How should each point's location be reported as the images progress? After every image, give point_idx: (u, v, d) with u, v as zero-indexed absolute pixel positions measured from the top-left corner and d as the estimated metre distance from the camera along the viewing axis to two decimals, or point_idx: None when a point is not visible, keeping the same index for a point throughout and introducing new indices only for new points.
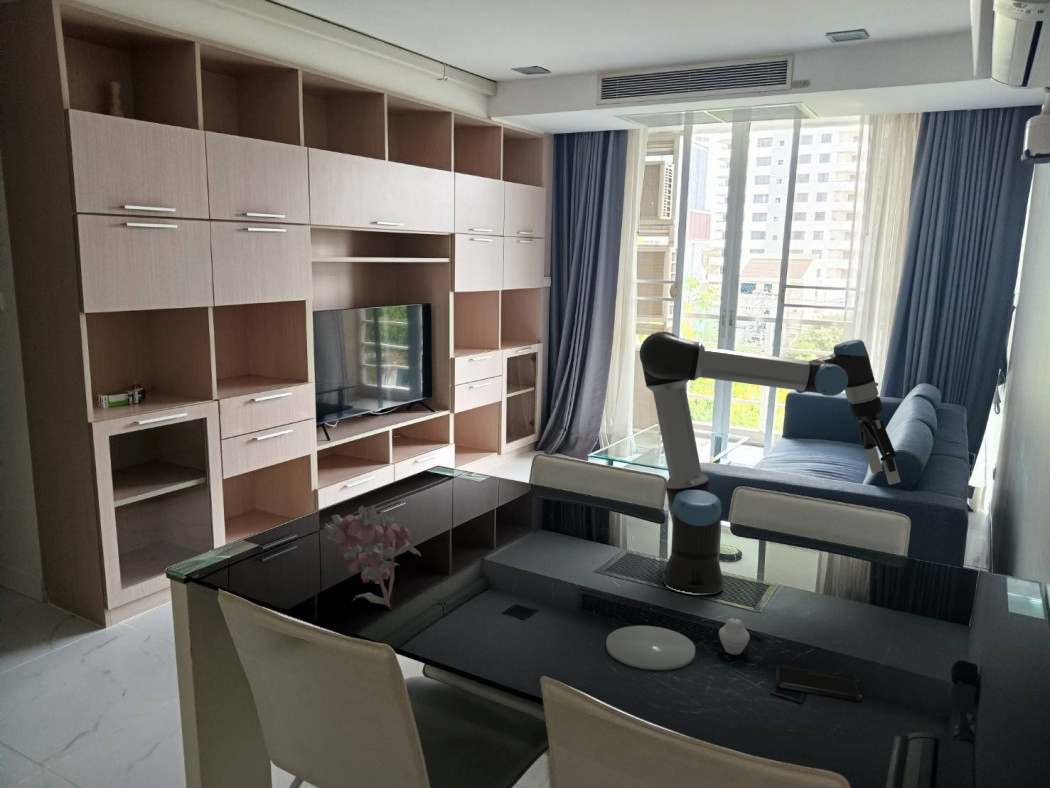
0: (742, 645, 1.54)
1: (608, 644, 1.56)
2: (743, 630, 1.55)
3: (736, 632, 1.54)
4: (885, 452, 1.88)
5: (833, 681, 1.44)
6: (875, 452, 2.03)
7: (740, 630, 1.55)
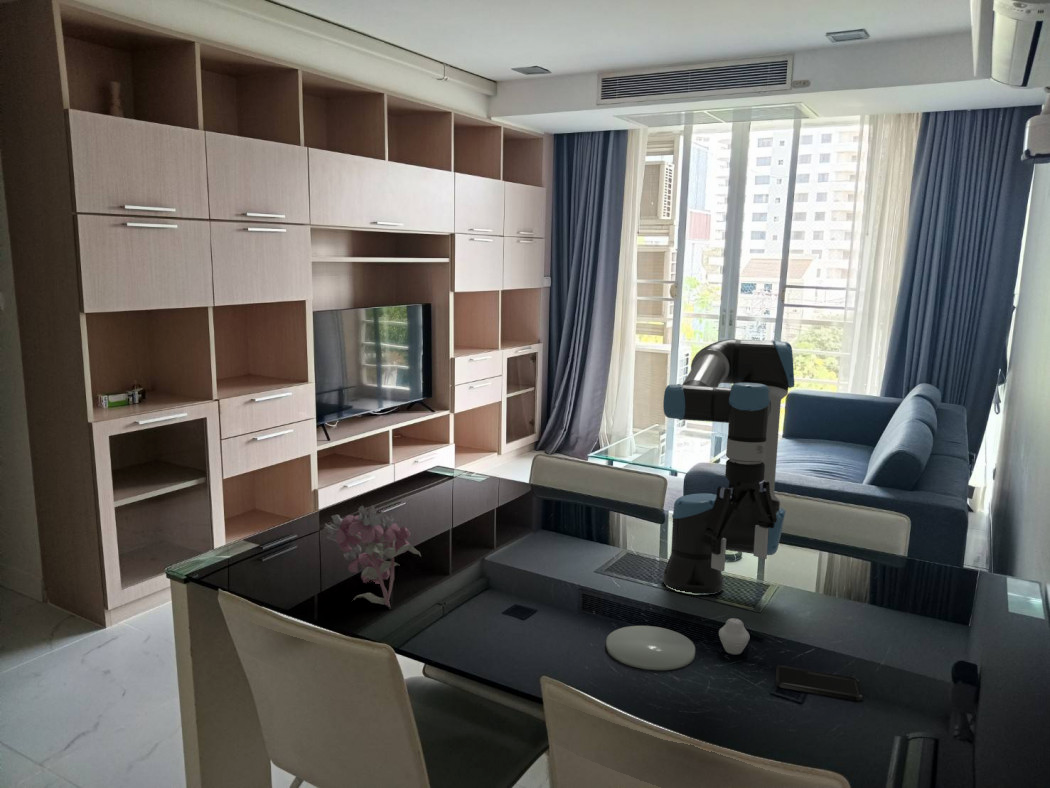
0: (742, 645, 1.54)
1: (608, 644, 1.56)
2: (743, 630, 1.55)
3: (736, 632, 1.54)
4: (707, 526, 1.49)
5: (833, 681, 1.44)
6: (763, 533, 1.57)
7: (740, 630, 1.55)
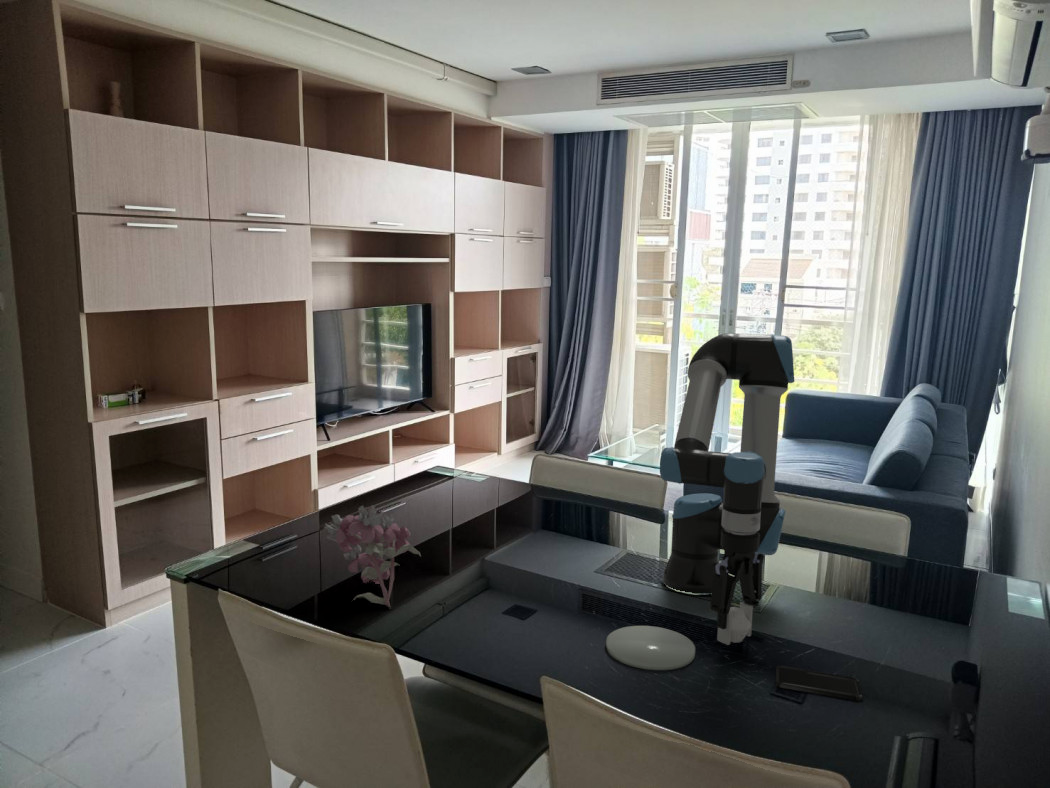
0: (743, 633, 1.54)
1: (608, 644, 1.56)
2: (744, 618, 1.55)
3: (737, 621, 1.54)
4: (711, 603, 1.53)
5: (833, 681, 1.44)
6: (748, 611, 1.58)
7: (741, 618, 1.55)
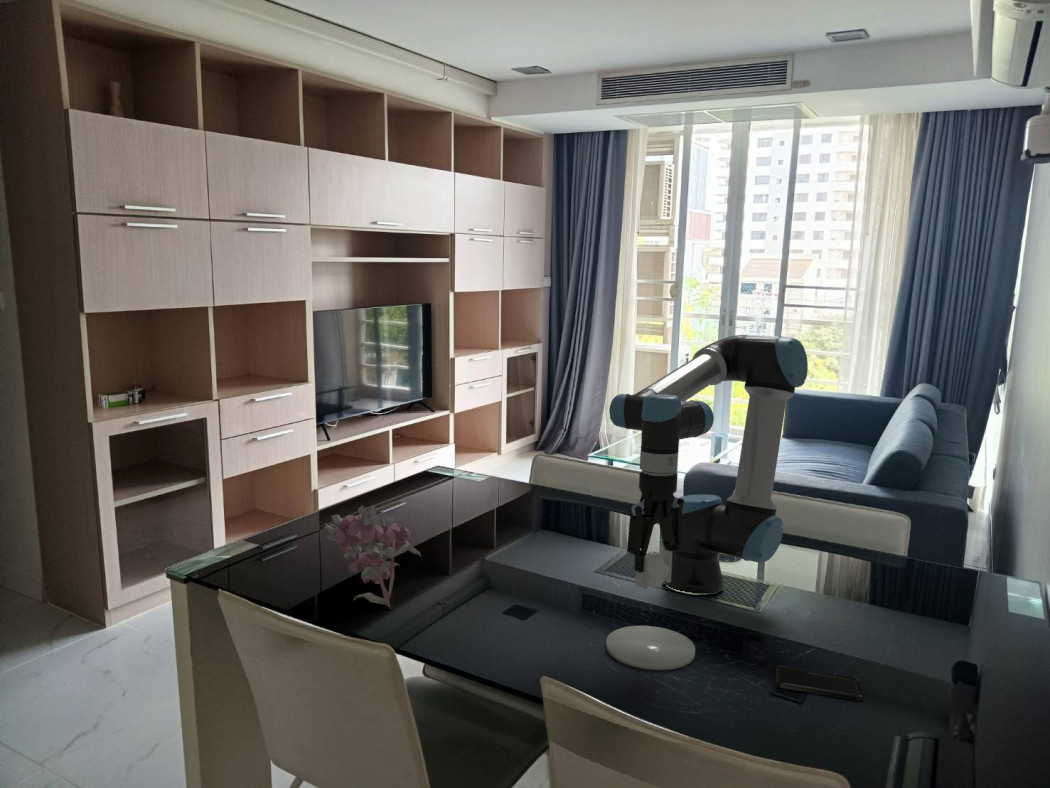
0: (661, 577, 1.52)
1: (608, 644, 1.56)
2: (662, 563, 1.53)
3: (655, 565, 1.52)
4: (628, 545, 1.51)
5: (833, 681, 1.44)
6: (667, 556, 1.55)
7: (659, 562, 1.53)
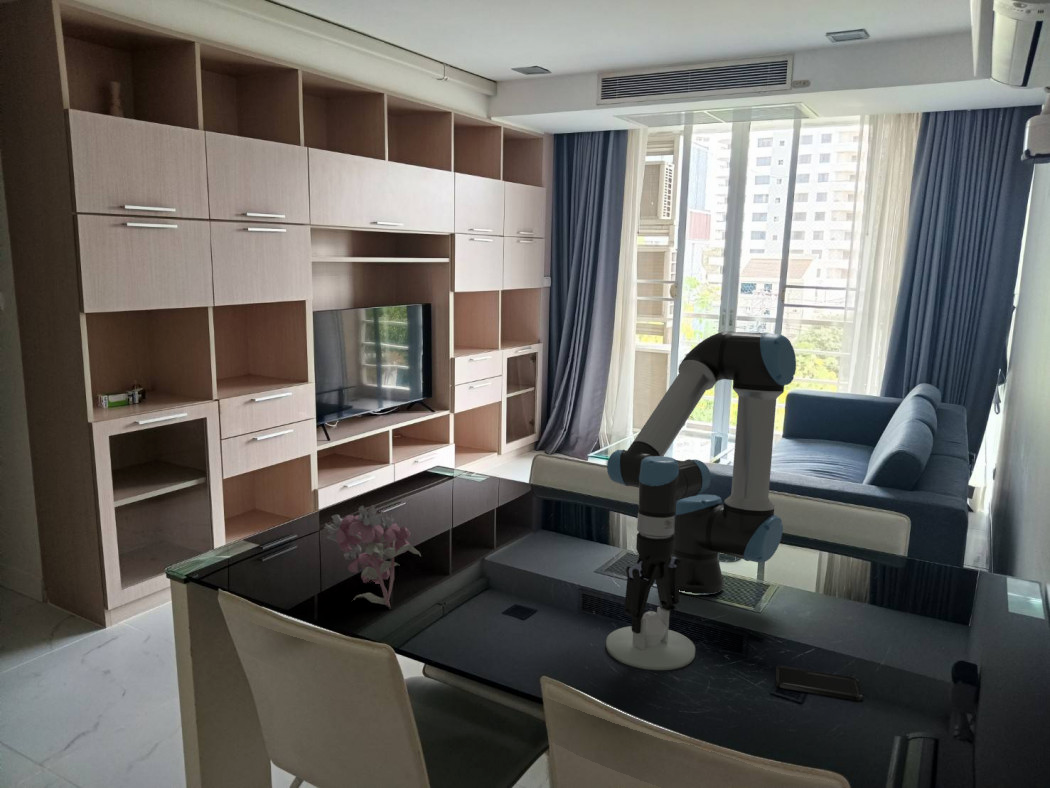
0: (658, 638, 1.54)
1: (608, 644, 1.56)
2: (659, 623, 1.54)
3: (652, 625, 1.54)
4: (625, 607, 1.52)
5: (833, 681, 1.44)
6: (664, 616, 1.57)
7: (656, 623, 1.54)
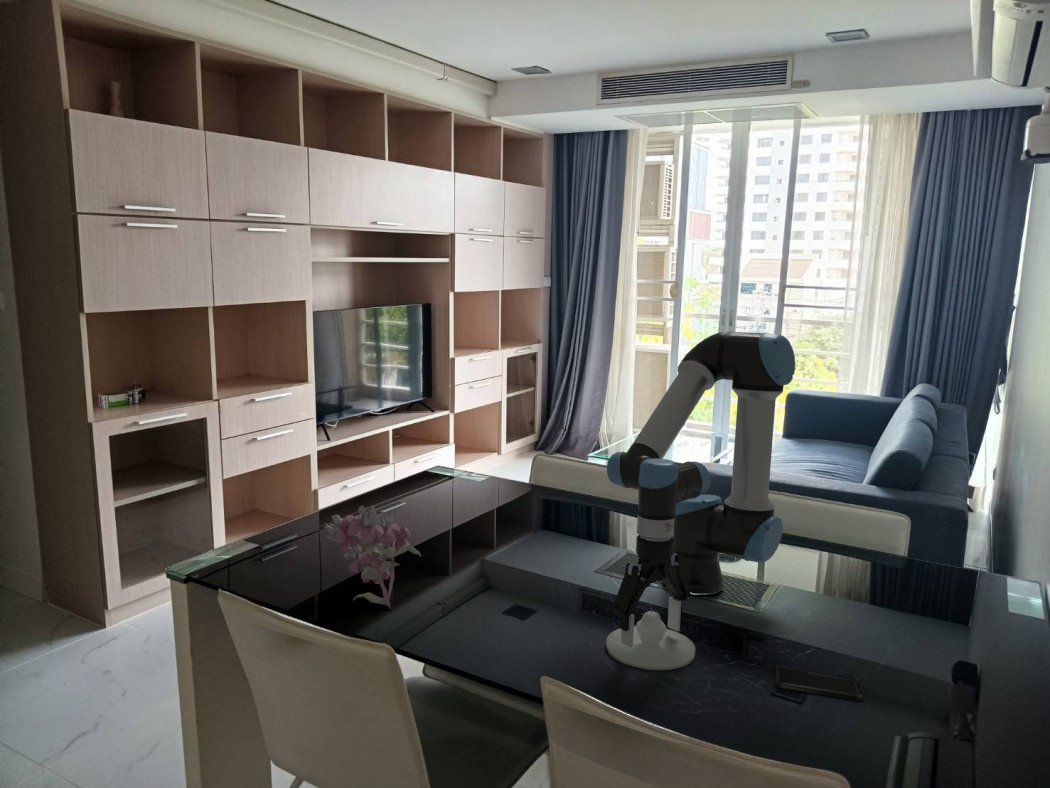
0: (658, 638, 1.54)
1: (608, 644, 1.56)
2: (659, 623, 1.54)
3: (652, 625, 1.54)
4: (615, 603, 1.50)
5: (833, 681, 1.44)
6: (676, 606, 1.59)
7: (656, 623, 1.54)
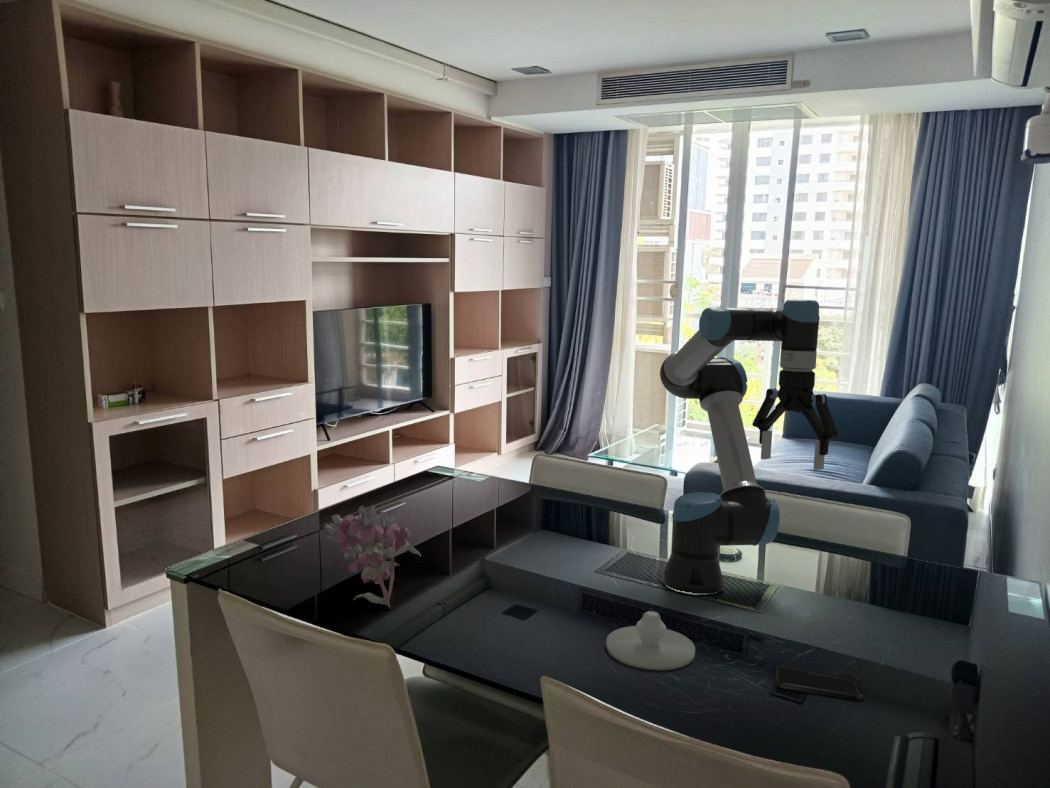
0: (658, 638, 1.54)
1: (608, 644, 1.56)
2: (659, 623, 1.54)
3: (652, 625, 1.54)
4: None
5: (833, 681, 1.44)
6: None
7: (656, 623, 1.54)
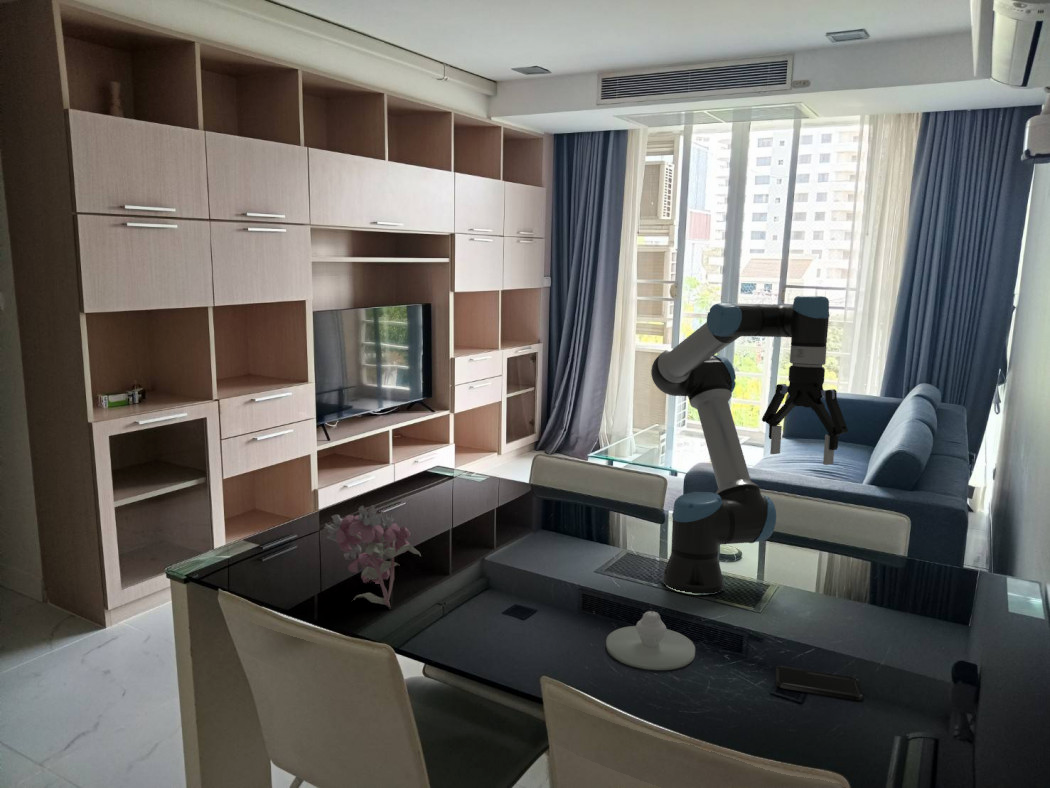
0: (658, 638, 1.54)
1: (608, 644, 1.56)
2: (659, 623, 1.54)
3: (652, 625, 1.54)
4: None
5: (833, 681, 1.44)
6: None
7: (656, 623, 1.54)
